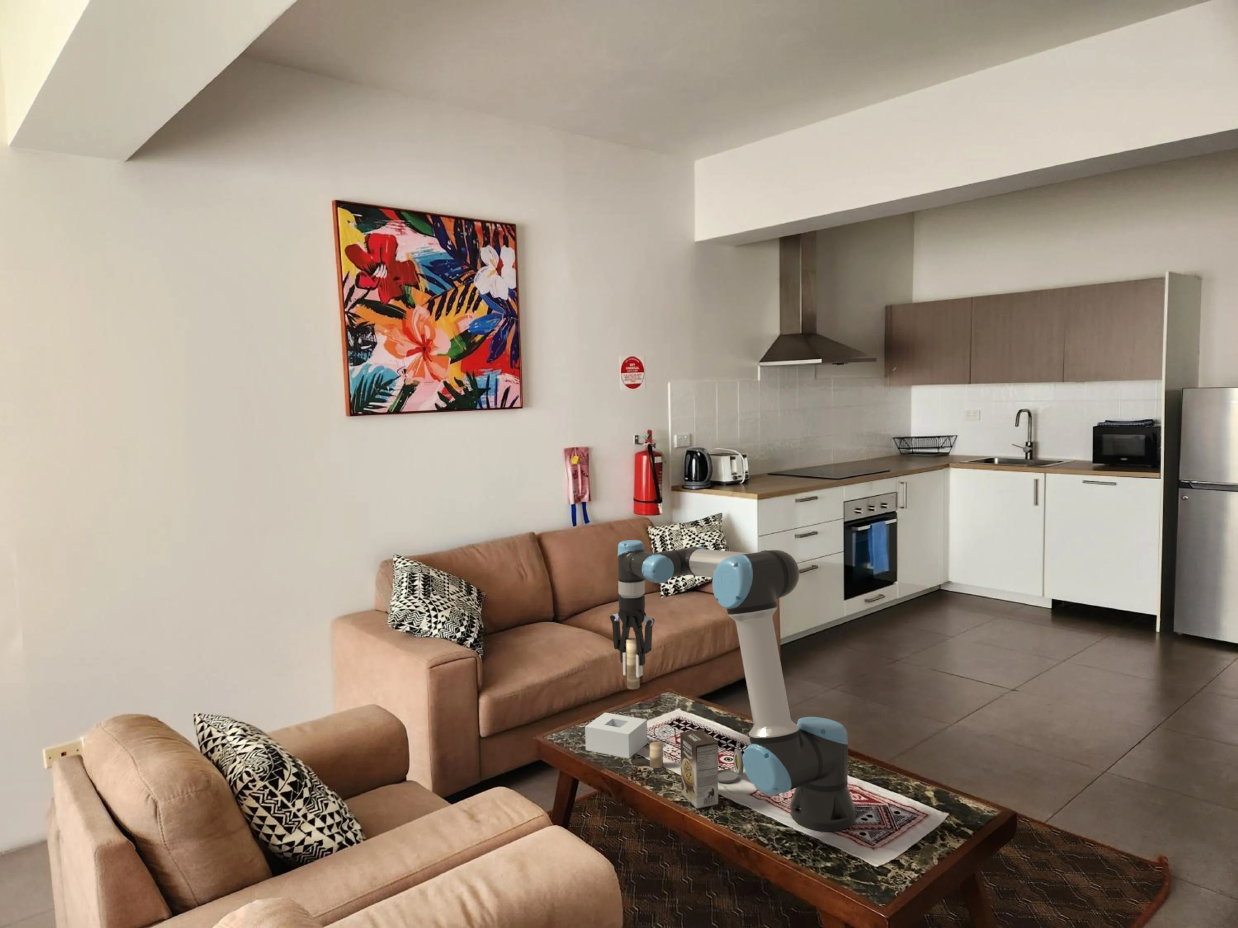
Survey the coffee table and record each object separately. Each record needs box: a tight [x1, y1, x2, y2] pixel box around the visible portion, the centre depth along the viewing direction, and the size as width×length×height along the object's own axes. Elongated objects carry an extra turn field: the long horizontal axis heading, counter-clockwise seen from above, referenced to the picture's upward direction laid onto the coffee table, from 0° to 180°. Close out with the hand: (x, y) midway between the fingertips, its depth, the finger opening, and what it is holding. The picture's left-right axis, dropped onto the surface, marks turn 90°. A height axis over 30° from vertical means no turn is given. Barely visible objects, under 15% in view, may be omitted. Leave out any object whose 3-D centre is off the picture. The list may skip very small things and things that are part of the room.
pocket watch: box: [718, 739, 745, 784], centre depth 223 cm, size 8×8×10 cm
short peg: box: [649, 741, 664, 769], centre depth 232 cm, size 4×4×6 cm
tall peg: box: [626, 637, 641, 690], centre depth 243 cm, size 4×4×14 cm
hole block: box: [584, 712, 648, 759], centre depth 245 cm, size 12×14×7 cm
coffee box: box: [679, 728, 719, 809], centre depth 212 cm, size 9×6×16 cm
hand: (632, 674), depth 243 cm, fingers closed on tall peg, 3 cm apart
